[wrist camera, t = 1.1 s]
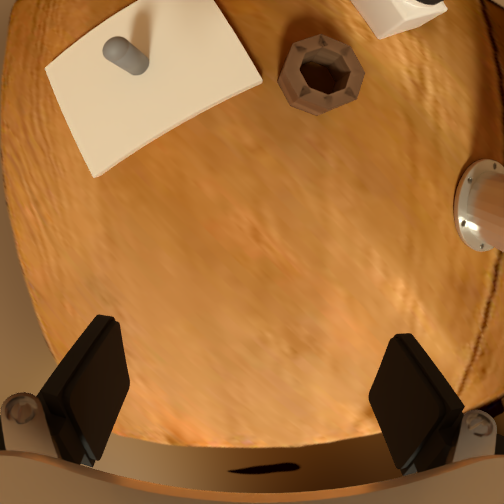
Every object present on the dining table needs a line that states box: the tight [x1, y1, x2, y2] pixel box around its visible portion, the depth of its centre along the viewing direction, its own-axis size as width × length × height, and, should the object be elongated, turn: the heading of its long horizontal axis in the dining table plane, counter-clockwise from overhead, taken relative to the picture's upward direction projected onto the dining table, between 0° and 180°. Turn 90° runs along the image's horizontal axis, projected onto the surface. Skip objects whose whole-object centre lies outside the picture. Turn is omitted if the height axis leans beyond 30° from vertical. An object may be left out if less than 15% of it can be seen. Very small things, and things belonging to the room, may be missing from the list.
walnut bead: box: [278, 34, 365, 116], centre depth 25 cm, size 7×7×5 cm
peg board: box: [45, 0, 262, 178], centre depth 22 cm, size 20×16×9 cm
